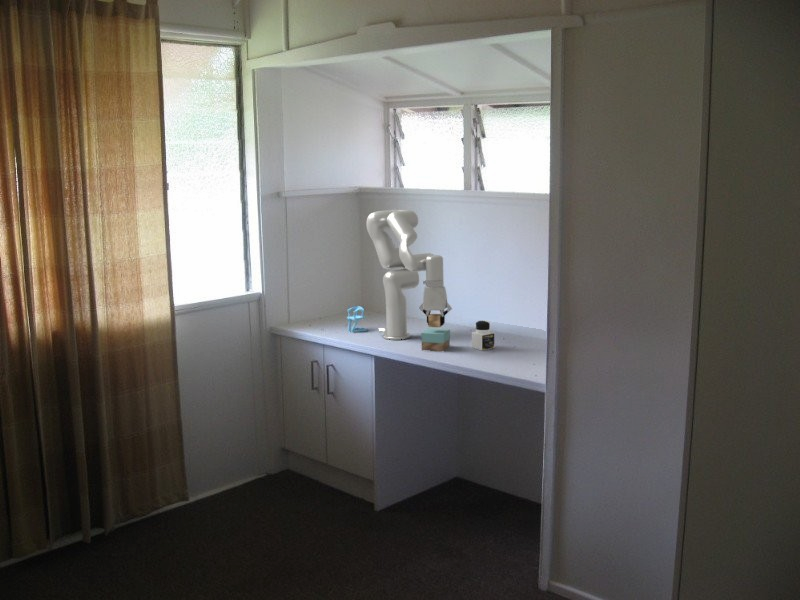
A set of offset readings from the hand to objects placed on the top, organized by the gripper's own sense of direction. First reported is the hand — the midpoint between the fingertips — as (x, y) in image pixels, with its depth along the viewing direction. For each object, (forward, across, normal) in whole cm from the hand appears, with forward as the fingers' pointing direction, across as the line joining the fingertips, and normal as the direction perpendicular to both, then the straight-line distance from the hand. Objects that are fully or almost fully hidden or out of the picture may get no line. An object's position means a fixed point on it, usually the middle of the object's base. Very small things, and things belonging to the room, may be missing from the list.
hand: (435, 324), depth 366 cm
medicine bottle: (+11, +20, +5) cm, 23 cm away
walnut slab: (+11, 0, 0) cm, 11 cm away
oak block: (+1, 0, 0) cm, 1 cm away
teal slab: (+7, 0, 0) cm, 7 cm away
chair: (+11, -48, +26) cm, 56 cm away
